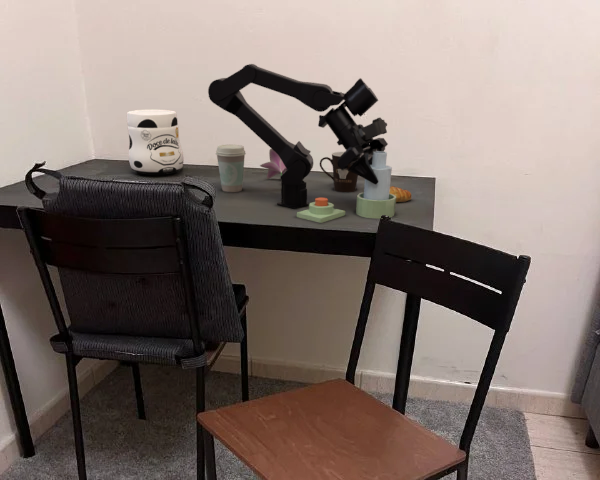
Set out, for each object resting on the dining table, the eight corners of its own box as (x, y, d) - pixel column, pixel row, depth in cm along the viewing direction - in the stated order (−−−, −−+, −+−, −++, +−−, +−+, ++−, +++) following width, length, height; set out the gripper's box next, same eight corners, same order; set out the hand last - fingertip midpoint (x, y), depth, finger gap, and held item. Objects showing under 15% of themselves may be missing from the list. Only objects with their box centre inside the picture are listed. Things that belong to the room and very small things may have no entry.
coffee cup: (211, 189, 181) (209, 146, 175) (233, 185, 187) (231, 143, 180) (231, 194, 176) (229, 150, 170) (252, 190, 182) (251, 146, 175)
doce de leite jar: (169, 180, 192) (164, 116, 182) (120, 175, 196) (112, 113, 186) (193, 169, 206) (189, 110, 197) (146, 166, 210) (140, 108, 201)
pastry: (406, 197, 177) (408, 183, 175) (414, 203, 172) (416, 188, 170) (375, 198, 176) (376, 184, 174) (382, 204, 170) (383, 189, 168)
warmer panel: (296, 217, 157) (296, 205, 155) (321, 210, 163) (321, 198, 162) (320, 223, 152) (321, 210, 151) (345, 215, 159) (345, 203, 157)
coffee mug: (365, 189, 184) (367, 154, 179) (346, 194, 179) (348, 158, 174) (335, 183, 191) (336, 149, 186) (317, 187, 186) (317, 152, 180)
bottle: (357, 211, 160) (362, 152, 153) (372, 206, 164) (376, 149, 157) (378, 215, 157) (383, 155, 149) (392, 211, 161) (398, 152, 153)
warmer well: (348, 213, 160) (349, 196, 158) (370, 206, 167) (371, 189, 165) (380, 221, 155) (381, 202, 152) (401, 213, 161) (403, 196, 159)
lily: (307, 184, 194) (302, 153, 193) (294, 175, 183) (289, 143, 182) (272, 194, 198) (267, 164, 198) (257, 185, 187) (252, 154, 187)
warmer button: (312, 206, 156) (312, 198, 155) (320, 203, 158) (320, 196, 157) (322, 208, 154) (322, 201, 154) (330, 205, 157) (330, 198, 156)
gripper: (351, 110, 142) (391, 165, 144) (383, 103, 156) (419, 154, 158) (320, 143, 150) (358, 195, 151) (353, 134, 164) (388, 182, 165)
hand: (382, 180), depth 156 cm, fingers closed on bottle, 6 cm apart
